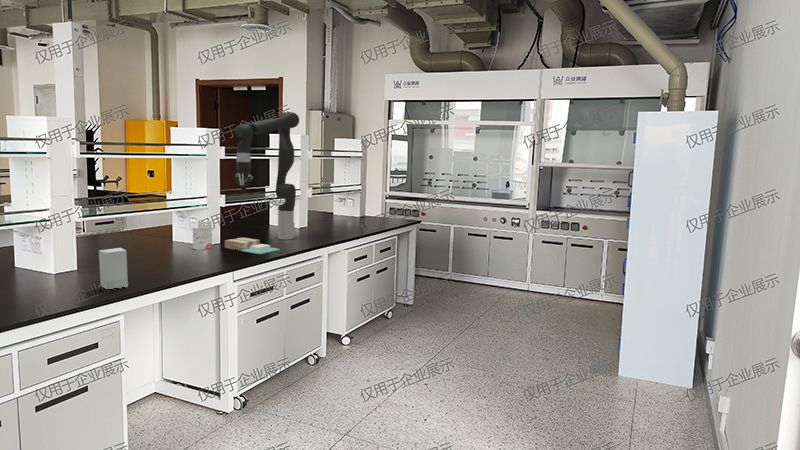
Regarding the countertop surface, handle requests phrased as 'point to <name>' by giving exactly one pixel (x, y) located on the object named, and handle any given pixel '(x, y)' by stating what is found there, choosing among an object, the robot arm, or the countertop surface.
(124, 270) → the skincare box
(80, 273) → the countertop surface
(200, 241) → the ink cartridge box
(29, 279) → the countertop surface
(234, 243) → the deck
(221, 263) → the countertop surface
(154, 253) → the countertop surface
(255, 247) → the slide case
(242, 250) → the mat
